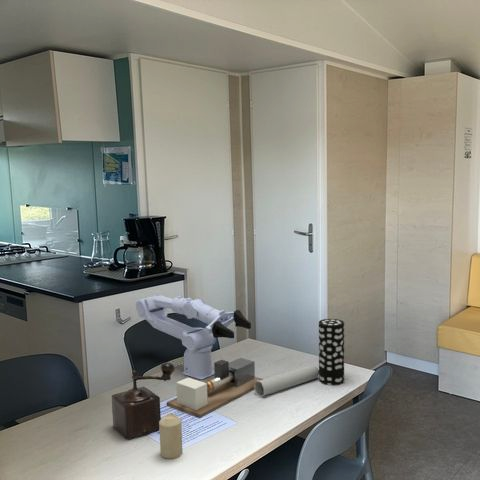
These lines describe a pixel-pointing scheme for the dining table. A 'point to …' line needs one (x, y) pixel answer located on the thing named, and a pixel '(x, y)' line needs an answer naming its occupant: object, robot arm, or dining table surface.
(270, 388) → the tube
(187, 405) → the cream rectangular block
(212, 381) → the inner tube
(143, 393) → the manual coffee grinder
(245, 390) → the base board
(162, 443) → the candle
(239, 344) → the dining table surface
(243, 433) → the dining table surface
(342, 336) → the white-spotted black cylinder
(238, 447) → the dining table surface
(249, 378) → the sleeve
